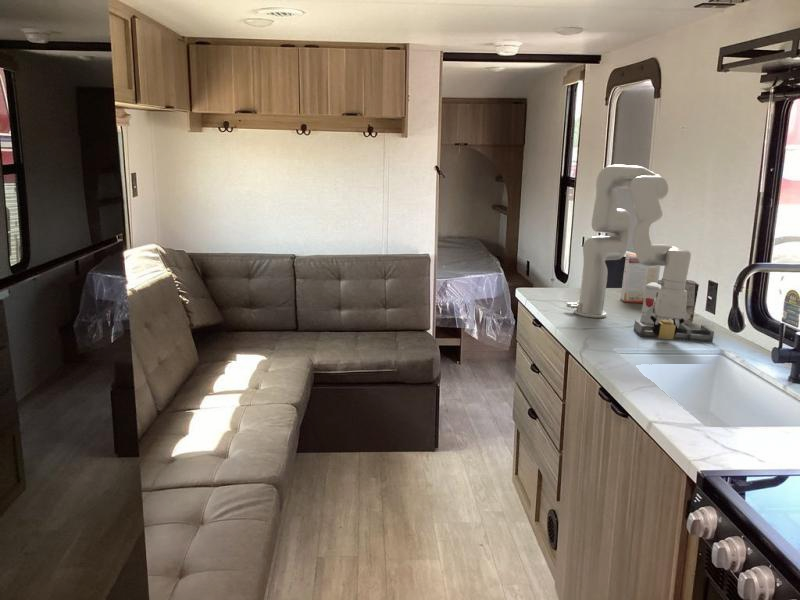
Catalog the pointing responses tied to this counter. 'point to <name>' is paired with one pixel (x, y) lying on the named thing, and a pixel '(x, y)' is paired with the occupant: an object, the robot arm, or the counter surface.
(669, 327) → the cage nut
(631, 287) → the cracker box
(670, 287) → the robot arm
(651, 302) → the supplement box
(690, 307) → the coffee box
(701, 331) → the grey compartment tray
